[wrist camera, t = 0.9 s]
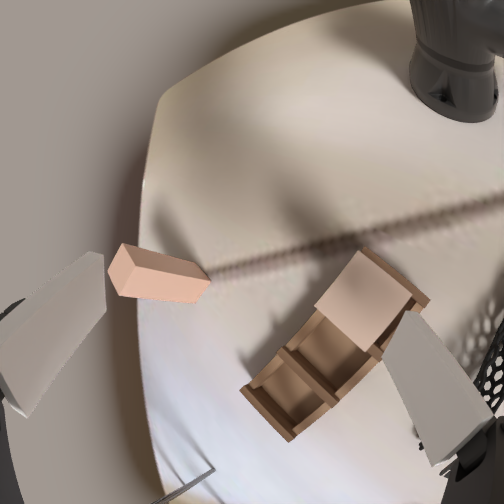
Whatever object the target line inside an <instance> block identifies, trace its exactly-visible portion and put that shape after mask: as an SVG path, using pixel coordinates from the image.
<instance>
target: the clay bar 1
mask: <svg viewBox="0 0 504 504" xmlns="http://www.w3.org/2000/svg"><path fill="white" fill-rule="evenodd" d="M108 274H109V276H110V278H111V280H112V282H113V284H114V286H115V288H116V290H117V292H118V294H119V296H127V297H135V298H144V299H153V300H163V301H173V302H184V303H196V302H197V300H198V299H199V297H200V296H201V295H202V293H203V292H204V291H205V289H206V288H207V286H208V285H209V284H210V282H211V280H210V279H209V278H208V277H207V276H206V275H205V273H204V272H203V271H202V270H201V269H200V268H199V267H198V265H197V264H196V263H194V262H190V261H187V260H183V259H179V258H175V257H172V256H168V255H164V254H160V253H157V252H153V251H149V250H146V249H142V248H139V247H135V246H131V245H128V244H124V243H122V245H121V246H120V248H119V250H118V252H117V254H116V256H115V257H114V259H113V261H112V263H111V265H110V267H109V269H108Z"/></svg>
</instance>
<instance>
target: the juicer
mask: <svg viewBox="0 0 504 504" xmlns="http://www.w3.org/2000/svg"><path fill="white" fill-rule="evenodd" d="M213 472H215V469H214V468H212V469H211V470H209V471H207V472H206V473H204V474H202V475H201V476H199V477H198V478H196V479H194V480H193V481H191V482H189V483H188V484H186V485H184V486H182V487H181V488H179V489H177V490H175V491H173V492H171V493H169V494H168V495H166V496H164V497H162V498H160V499H158V500H157V501H155V502H153V503H151V504H166V503H168V502H169V501H171V500H173V499H174V498H176V497H178V496H179V495H181V494H182V493H184V492H185V491H187V490H188V489H190V488H191V487H193V486H194V485H196V484H197V483H199V482H200V481H202V480H203V479H205V478H206V477H208V476H209V475H211V474H212V473H213Z"/></svg>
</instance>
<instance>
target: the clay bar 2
mask: <svg viewBox="0 0 504 504" xmlns="http://www.w3.org/2000/svg"><path fill="white" fill-rule="evenodd" d="M412 295H413V294H411V293H410V292H409V291H408V290H407V289H406V288H404V287H403V286H402V285H401V284H400V283H398V282H397V281H396V280H395V279H394V278H392V277H391V276H390V275H389V274H387V273H386V272H385V271H384V270H383V269H381V268H380V267H379V266H378V265H376V264H375V263H374V262H373V261H371V260H370V259H369V258H367V257H366V256H365V255H364V254H362V253H361V252H360V251H359V250H358V251H357V252H356V254H355V255H354V256H353V258H352V259H351V260H350V262H349V263H348V264H347V265H346V267H345V268H344V269H343V271H342V272H341V273H340V274H339V276H338V277H337V278H336V280H335V281H334V282H333V283H332V285H331V286H330V287H329V288H328V289H327V291H326V292H325V293H324V294H323V296H322V297H321V298H320V299H319V300H318V302H317V303H316V304H315V305H314V306H315V307H316V308H317V309H318V310H319V311H320V312H321V313H322V314H323V315H324V316H326V317H327V318H328V319H329V320H330V321H331V322H332V323H333V324H334V325H335V326H337V327H338V328H339V329H340V330H341V331H342V332H343V333H344V334H345V335H346V336H348V337H349V338H350V339H351V340H352V341H353V342H354V343H355V344H356V345H357V346H358V347H360V348H361V349H362V350H363V351H364V352H366V351H367V350H368V348H369V347H370V346H371V345H372V344H373V343H374V342H375V341H376V339H377V338H378V337H379V336H380V335H381V334H382V333H383V331H384V330H385V329H386V328H387V327H388V325H389V324H390V323H391V322H392V321H393V319H394V318H395V317H396V316H397V314H398V313H399V312H400V311H401V309H402V308H403V307H404V305H405V304H406V303H407V301H408V300H409V299H410V297H411V296H412Z"/></svg>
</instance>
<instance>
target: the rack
mask: <svg viewBox="0 0 504 504" xmlns="http://www.w3.org/2000/svg"><path fill="white" fill-rule="evenodd" d="M361 253H362V254H364V255H365V256H366V257H367V258H369V259H370V260H371V261H373V262H374V263H375V264H376V265H378V266H379V267H380V268H381V269H383V270H384V271H385V272H386V273H387V274H389V275H390V276H391V277H392V278H394V279H395V280H396V281H397V282H398V283H400V284H401V285H402V286H403V287H404V288H406V289H407V290H408V291H409V292H410V293H411V294H413V295H412V296H411V297H410V299H409V300H408V301H407V303H406V304H405V305H404V307H403V308H402V309H401V311H400V312H399V313H398V314H397V316H396V317H395V318H394V319H393V321H392V322H391V323H390V324H389V325H388V327H387V328H386V329H385V330H384V331H383V333H382V334H381V335H380V336H379V337H378V338H377V339H376V341H375V342H374V343H373V344H372V345H371V346H370V347H369V348H368V350H367V351H366V352H364V351H363V350H362V349H361V348H360V347H358V346H357V345H356V344H355V343H354V342H353V341H352V340H351V339H350V338H349V337H348V336H346V335H345V334H344V333H343V332H342V331H341V330H340V329H339V328H338V327H337V326H335V325H334V324H333V323H332V322H331V321H330V320H329V319H328V318H327V317H326V316H324V315H323V314H322V313H321V312H320V311H319V310H318V309H317V310H316V311H315V313H314V314H313V315H312V316H311V317H310V318H309V320H308V321H307V322H306V323H305V324H304V325H303V326H302V328H301V329H300V330H299V331H298V332H297V333H296V334H295V335H294V336H293V338H292V339H291V340H290V341H289V342H288V343H287V344H286V345H285V346H283V347H281V348H280V349H279V350H278V351H277V352H276V354H277V355H276V356H275V357H274V358H273V359H272V360H271V361H270V362H269V363H268V364H267V365H266V366H265V367H264V368H263V370H262V371H261V372H260V373H259V374H258V375H257V376H256V377H255V378H254V379H253V380H252V381H251V382H250V383H249V384H247V385H244V386H243V387H242V388H241V389H240V390H239V391H240V392H241V393H242V394H243V395H244V396H245V398H246V399H247V400H248V401H249V402H250V403H251V404H252V405H253V406H254V408H255V409H256V410H257V411H258V412H259V413H260V414H261V415H262V416H263V417H264V418H265V419H266V420H267V421H268V423H269V424H270V425H271V426H272V427H273V428H274V429H275V430H276V431H277V432H278V433H279V434H280V435H281V436H282V437H283V438H284V439H285V440H286V441H287V442H288V443H289V442H290V441H292V440H293V439H294V438H295V437H296V436H297V435H298V434H300V433H301V432H302V431H304V430H305V429H306V428H307V427H309V426H310V425H311V424H312V423H314V422H315V421H316V420H317V419H319V418H320V417H321V416H322V415H323V414H325V413H326V412H327V411H328V410H329V409H330V408H333V407H334V406H335V405H336V404H337V403H338V402H339V401H340V399H342V398H343V397H344V396H345V395H346V394H347V393H348V392H349V391H350V390H351V389H352V388H353V387H354V386H355V385H356V384H357V383H359V382H360V381H361V380H362V379H363V378H364V377H365V376H366V375H367V374H368V372H369V371H370V370H371V369H372V368H373V367H374V366H375V365H376V364H377V363H378V362H380V361H381V360H382V358H381V357H382V355H383V353H384V351H385V350H386V348H387V346H388V344H389V342H390V340H391V339H392V337H393V335H394V333H395V331H396V329H397V327H398V325H399V323H400V321H401V319H402V317H403V315H404V313H405V311H414V312H418V313H420V312H421V311H422V309H423V308H425V307H426V306H427V304H428V303H429V301H430V299H429V298H428V297H427V296H426V295H424V294H423V293H422V292H421V291H420V290H419V289H418V288H416V287H415V286H414V285H413V284H412V283H410V282H409V281H408V280H407V279H406V278H404V277H403V276H402V275H401V274H400V273H398V272H397V271H396V270H395V269H393V268H392V267H391V266H390V265H388V264H387V263H386V262H385V261H383V260H382V259H381V258H380V257H378V256H377V255H376V254H375V253H373V252H372V251H371V250H369V249H368V248H367V247H365V246H364V248H363V249H362V250H361Z"/></svg>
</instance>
